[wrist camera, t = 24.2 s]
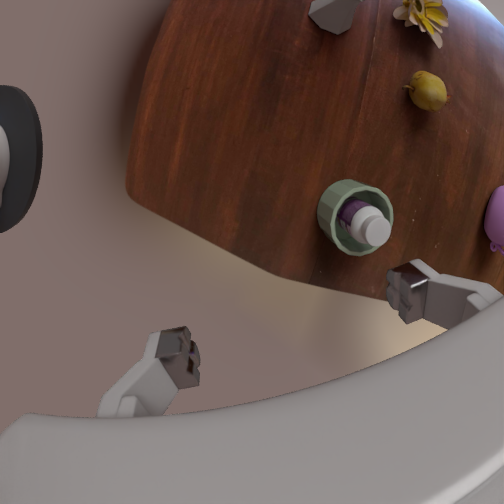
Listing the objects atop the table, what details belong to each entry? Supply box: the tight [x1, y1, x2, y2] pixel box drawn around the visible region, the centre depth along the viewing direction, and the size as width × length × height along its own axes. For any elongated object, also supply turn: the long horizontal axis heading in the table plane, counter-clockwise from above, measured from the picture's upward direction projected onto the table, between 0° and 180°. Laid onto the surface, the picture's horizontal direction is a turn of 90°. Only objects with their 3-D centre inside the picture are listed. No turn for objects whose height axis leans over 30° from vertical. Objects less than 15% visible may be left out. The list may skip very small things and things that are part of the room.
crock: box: [317, 179, 393, 256], centre depth 39 cm, size 10×10×6 cm
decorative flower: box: [393, 0, 448, 48], centre depth 24 cm, size 15×11×10 cm
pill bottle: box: [335, 196, 391, 247], centre depth 37 cm, size 5×5×10 cm
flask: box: [308, 0, 364, 35], centre depth 25 cm, size 7×7×10 cm
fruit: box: [402, 71, 451, 112], centre depth 32 cm, size 7×7×10 cm
